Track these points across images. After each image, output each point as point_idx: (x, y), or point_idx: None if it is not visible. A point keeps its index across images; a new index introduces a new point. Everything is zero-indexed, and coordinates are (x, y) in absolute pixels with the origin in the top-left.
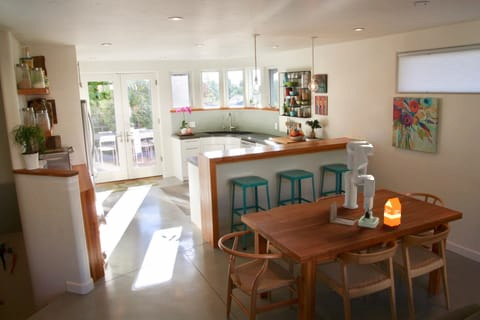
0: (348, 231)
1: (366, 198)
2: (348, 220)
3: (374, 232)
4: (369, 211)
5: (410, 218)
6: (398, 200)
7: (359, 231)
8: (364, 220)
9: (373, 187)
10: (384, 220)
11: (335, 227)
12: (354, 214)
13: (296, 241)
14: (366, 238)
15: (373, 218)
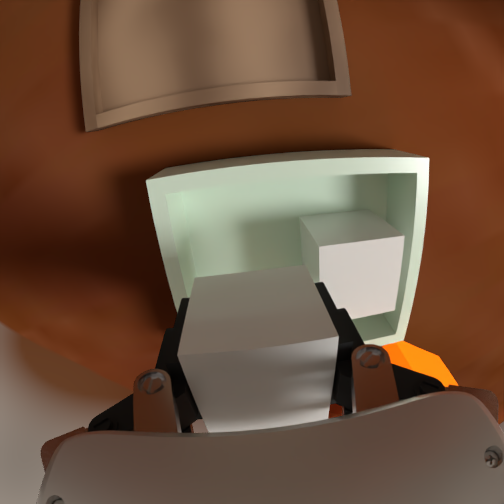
0: (3, 165)
1: None
2: (275, 3)
3: (130, 349)
4: (311, 398)
5: (480, 383)
6: None
7: (56, 244)
8: (383, 174)
9: None
10: (399, 357)
11: (25, 24)
12: (486, 47)
13: None
14: (13, 327)
15: (399, 289)
